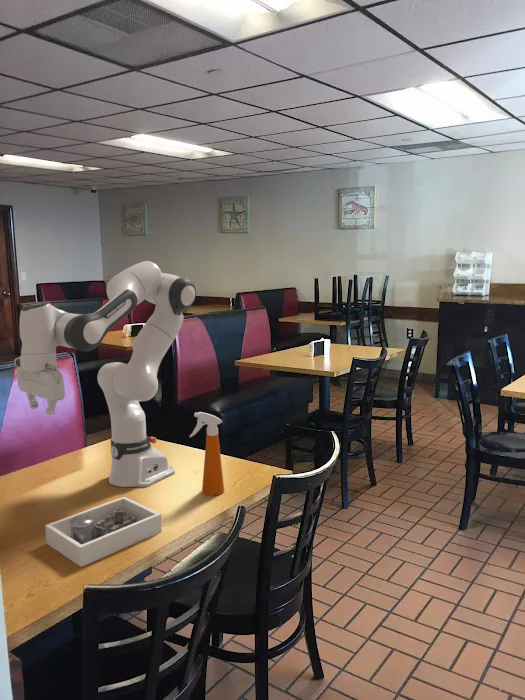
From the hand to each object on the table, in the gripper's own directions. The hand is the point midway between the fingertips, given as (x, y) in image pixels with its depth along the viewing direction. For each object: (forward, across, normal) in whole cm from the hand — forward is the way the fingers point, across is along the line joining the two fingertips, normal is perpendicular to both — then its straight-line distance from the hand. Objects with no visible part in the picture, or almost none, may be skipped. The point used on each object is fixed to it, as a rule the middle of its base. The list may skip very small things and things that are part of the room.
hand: (42, 411), depth 156 cm
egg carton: (+32, -21, -8) cm, 39 cm away
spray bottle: (+31, -21, -42) cm, 56 cm away
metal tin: (+31, -22, +2) cm, 38 cm away
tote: (+31, -22, -4) cm, 39 cm away
